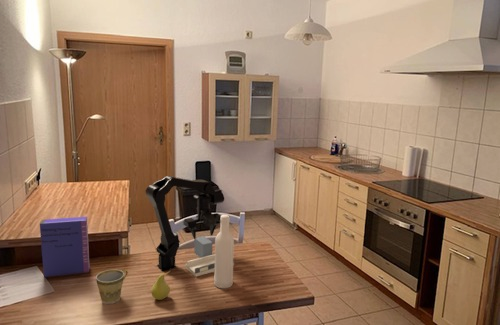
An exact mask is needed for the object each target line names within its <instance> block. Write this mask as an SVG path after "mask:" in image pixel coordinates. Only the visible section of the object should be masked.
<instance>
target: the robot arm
mask: <svg viewBox="0 0 500 325" xmlns="http://www.w3.org/2000/svg"><path fill="white" fill-rule="evenodd" d="M173 187H177V188H178V187H179V188H183V189H189V190H195V191H198V192H196V193H195V195H193V198H194V199H197V207H196V209H195V210H196V211H197V215H195V217H196V219H194V218H192V217H189V218H184V219H183V225H184V226H185V227H186V228H188V229H189V231H190V232H191V235H192V238H193V239H196V238H197V235H196V234H197V232H196V230H197V228H198V227H197V224H201V223H204V225H205V226H207V227H209V232H210V233H209V234H210V236H213V235H214V232H215V230H216V227H217V226H218V225H219V224H220V223H221V221H220V218H221V214H219V213H218V212H216V213H212V209H211V206H210V205H212V206H213V205H217V204H222V203H224V201H225V195H224V194H223V192H222V191H223V190H222V189H219V188H218V189H214V188H213V185H212V183H211V182H210V181H207V180H205V179H193V180H191V179H186V178H181V177H176V176H172V175H166V176H165V177H164V178H161V179H159V180H157V181H155V182H154V183H153V184H150V185H148V186H147V187H146V189H145V196H146V197H147V199H148V200H149V202H150V203H151V205H152V206H153V209H154V213H155V215H156V219H157V222H158V225H159V229H160V232H161V234H160V243H159V244H158V245H157V247H156V248H155V250H156V252H157V253H158V264H157V267H158V268H159V270H161V271H162V272H165V271H170V270H172V269H176V268H177V267H176V255H177V253H178V249H179V248H180V243H181V241H180V238H179V235H178V233H176V232H174V231H173V230H172V227H171V223H170V220H169V216H168V213H167V209H166V206H165V203H166V195H168V194H169V193H170V191H171V190H172V189H173ZM199 192H200V193H199Z"/></svg>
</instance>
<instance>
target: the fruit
mask: <svg viewBox="0 0 500 325" xmlns="http://www.w3.org/2000/svg"><path fill="white" fill-rule="evenodd" d="M169 273H171V270H168V271H167V272H165V273H161V274H160V275H159V276H158V277H157V279H156V281H155V282H154V283H153V285H152V286H151V295H152V297H153V298H154V299H155V300H158V301H161V300H164V299H165V298H167V297H168V296H169V294H170V292H171V287H170V285H169V284H168V283H167V282H166V281H165V280H166V279H165V276H166V274H169Z"/></svg>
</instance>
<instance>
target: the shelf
mask: <svg viewBox="0 0 500 325" xmlns="http://www.w3.org/2000/svg"><path fill="white" fill-rule="evenodd" d="M234 266H235V257H233V267H234ZM185 269H187V271H189V272H190V273H191V274H192V275H193V276H194V277H199V276H203V275H207V274H210V273H213V272H215V253H214V254H213V253H212V255H209V256H205V257H202V258H200V257H199V258H194V259H191V260H187V261H186V264H185Z"/></svg>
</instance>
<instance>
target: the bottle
mask: <svg viewBox="0 0 500 325" xmlns="http://www.w3.org/2000/svg"><path fill="white" fill-rule="evenodd" d="M220 215H221V214H220ZM230 220H231V218H230V215H228V214H222V215H221V218H220V221H221V222H220V223H219V224H220V229H219V232H218V233H217V234H216V237H215V239H214V254H215V271H214V276H213V278H214V279H213V282H214V286H215V287H217V289H218V288H219V289H229V288H230V287H232V286H233V283H234V266H233V258H234V255H235V254H234V253H235V252H234V250H235V249H234V248H235V246H234V245H235V240H234V236H233V234H232V233H231V232H230Z"/></svg>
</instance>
